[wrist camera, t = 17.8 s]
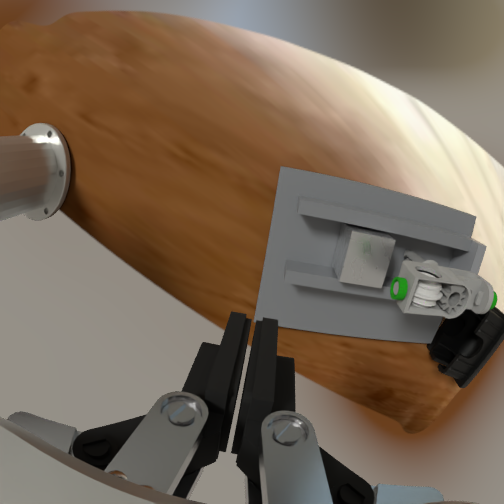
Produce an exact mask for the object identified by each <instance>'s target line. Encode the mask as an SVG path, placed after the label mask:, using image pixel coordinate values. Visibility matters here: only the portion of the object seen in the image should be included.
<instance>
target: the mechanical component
mask: <svg viewBox="0 0 504 504" xmlns="http://www.w3.org/2000/svg"><path fill="white" fill-rule="evenodd" d="M404 257H409V258H406V260H402V261H403V262H402V266H401V269H400V273H399V276H398V277H395V278H394V279H393V280H392V283H391V287H390V295H391V298H392V299H394V300H396V303H397V304H398V306H399V307H400V309H401V310H402V312H403V313H411V314H421V315H433V316H444V317H445V318H448V319H451V318H455V317H457V316H459V315H460V314H462V313H463V312H464V310H465V309H471V310H472V311H473V312H475V313H476V314H485V313H486V312H488V310H489V309H493V308H494V307H495V305H496V303H497V295H496V293H495V292H494V291H493V288H492V286H491V284H490V283H488V282H487V281H486V280H484V279H483V278H482V277H480V276H479V275H477V274H475V273H472V272H469V271H465V270H460V269H454V268H449V267H443V266H439V265H438V263H437V262H435V261H434V260H426V261H425V260H424V259H423V258H421V257H420V256H419V255H418V254H416V253H415V252H414V251H413V250H411V249H408V250H406V251H405V252H404ZM429 307H430V308H429Z"/></svg>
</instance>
